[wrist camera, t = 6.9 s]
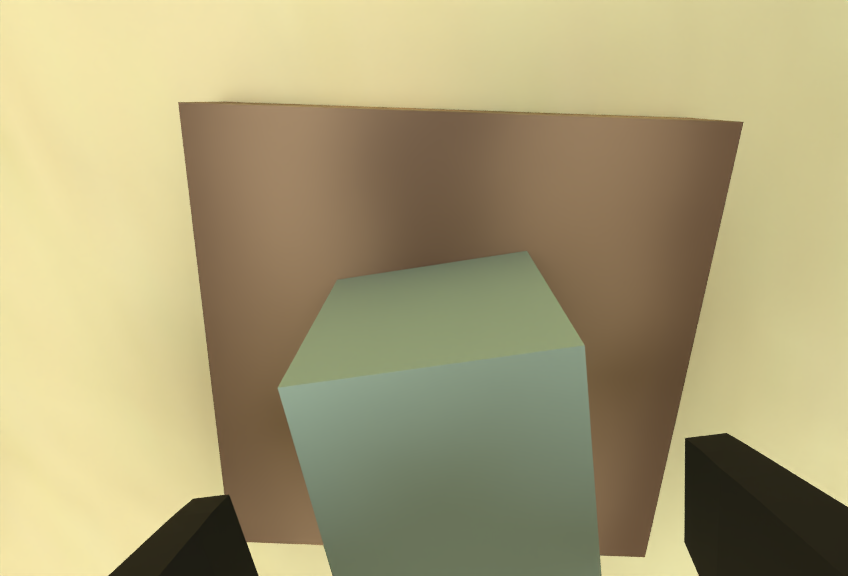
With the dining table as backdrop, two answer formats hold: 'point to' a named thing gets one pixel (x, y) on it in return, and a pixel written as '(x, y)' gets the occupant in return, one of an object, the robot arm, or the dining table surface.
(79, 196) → the dining table surface
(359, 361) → the sage block
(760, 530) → the robot arm
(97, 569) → the dining table surface
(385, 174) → the walnut box
